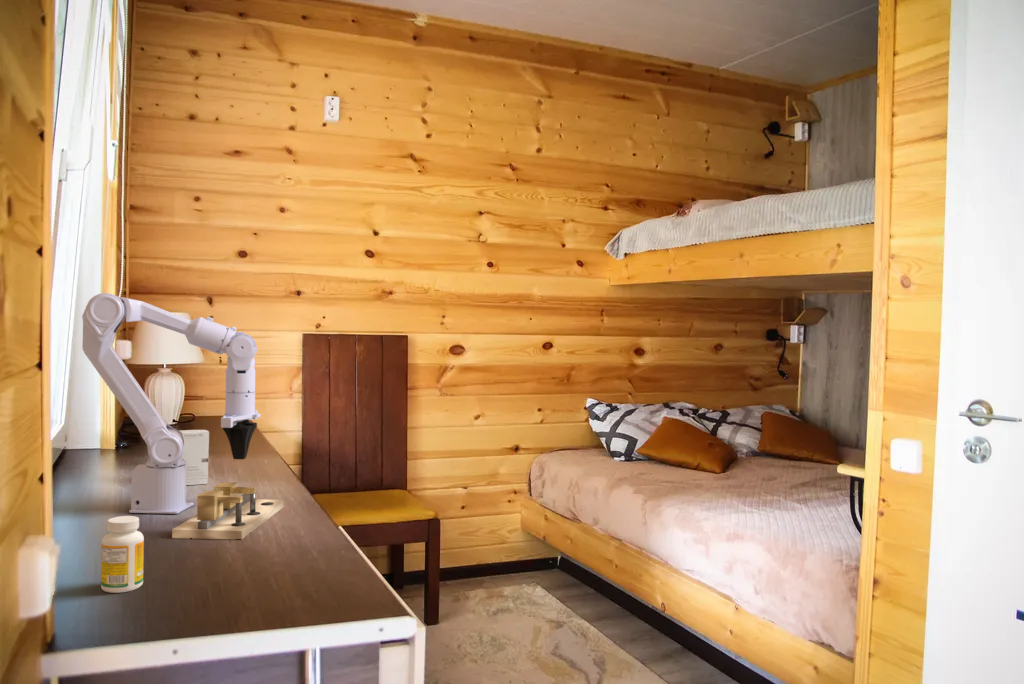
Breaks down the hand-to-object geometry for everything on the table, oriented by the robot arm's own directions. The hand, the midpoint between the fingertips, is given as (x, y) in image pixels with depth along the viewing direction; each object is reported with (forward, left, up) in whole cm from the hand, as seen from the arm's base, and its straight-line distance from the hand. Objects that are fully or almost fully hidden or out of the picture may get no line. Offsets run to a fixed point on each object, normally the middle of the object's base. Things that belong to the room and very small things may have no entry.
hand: (239, 458), depth 162 cm
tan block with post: (+4, -14, -7) cm, 16 cm away
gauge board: (+3, -13, -9) cm, 17 cm away
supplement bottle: (+1, -50, -10) cm, 51 cm away
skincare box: (-18, +20, -10) cm, 28 cm away
